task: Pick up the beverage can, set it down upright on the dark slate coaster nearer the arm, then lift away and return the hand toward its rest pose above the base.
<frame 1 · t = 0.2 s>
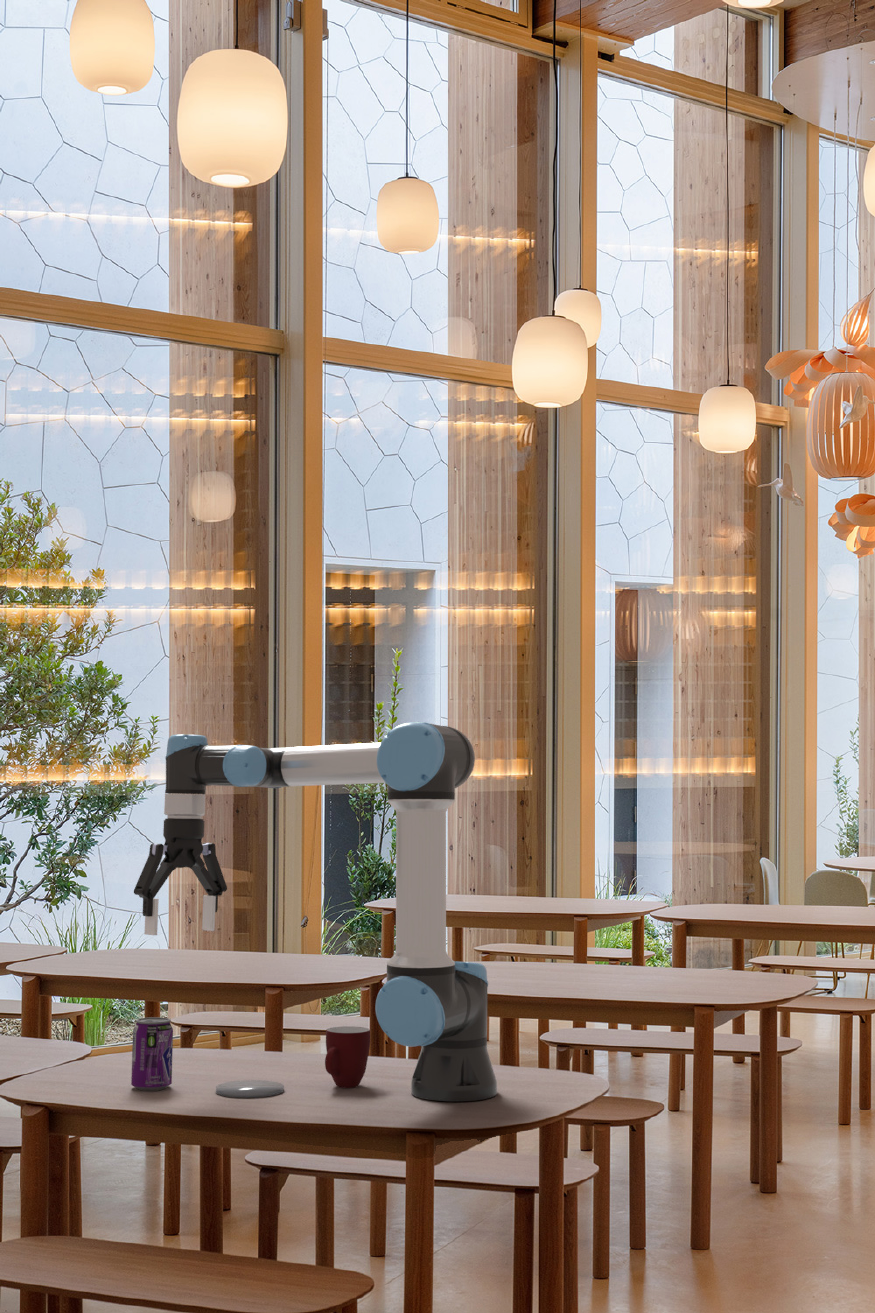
hand: (180, 932, 259), 27 cm above the table, fingers open, 13 cm apart
coaster: (249, 1091, 248), on the table
mug: (344, 1088, 252), on the table
beverage can: (151, 1089, 250), on the table
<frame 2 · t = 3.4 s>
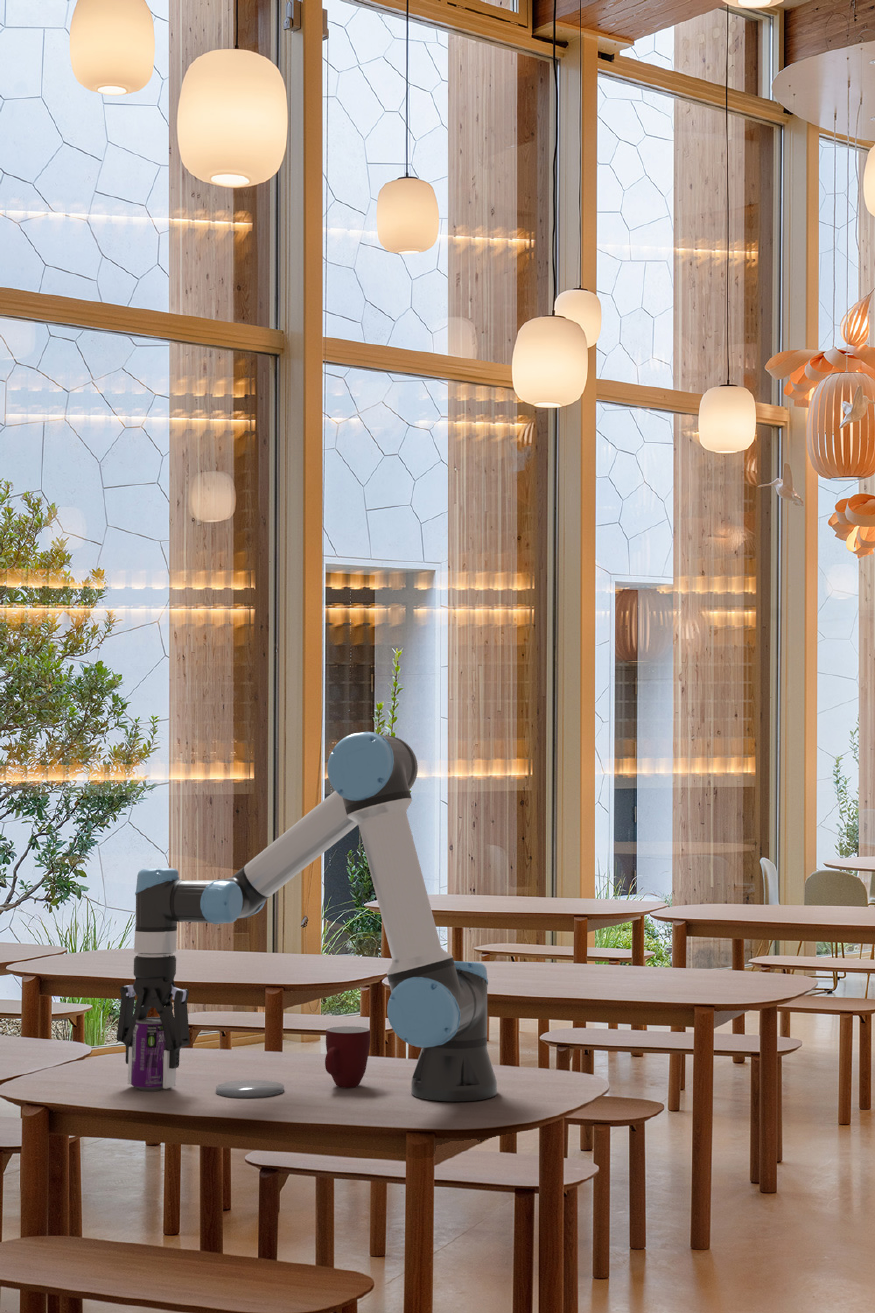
hand: (151, 1084, 250), 1 cm above the table, fingers closed on beverage can, 7 cm apart
beverage can: (151, 1089, 250), on the table, touching gripper
everything else where it was.
when the fingers open (3 cm above the table, at t = 8.7 s): beverage can drops 1 cm, resting on coaster.
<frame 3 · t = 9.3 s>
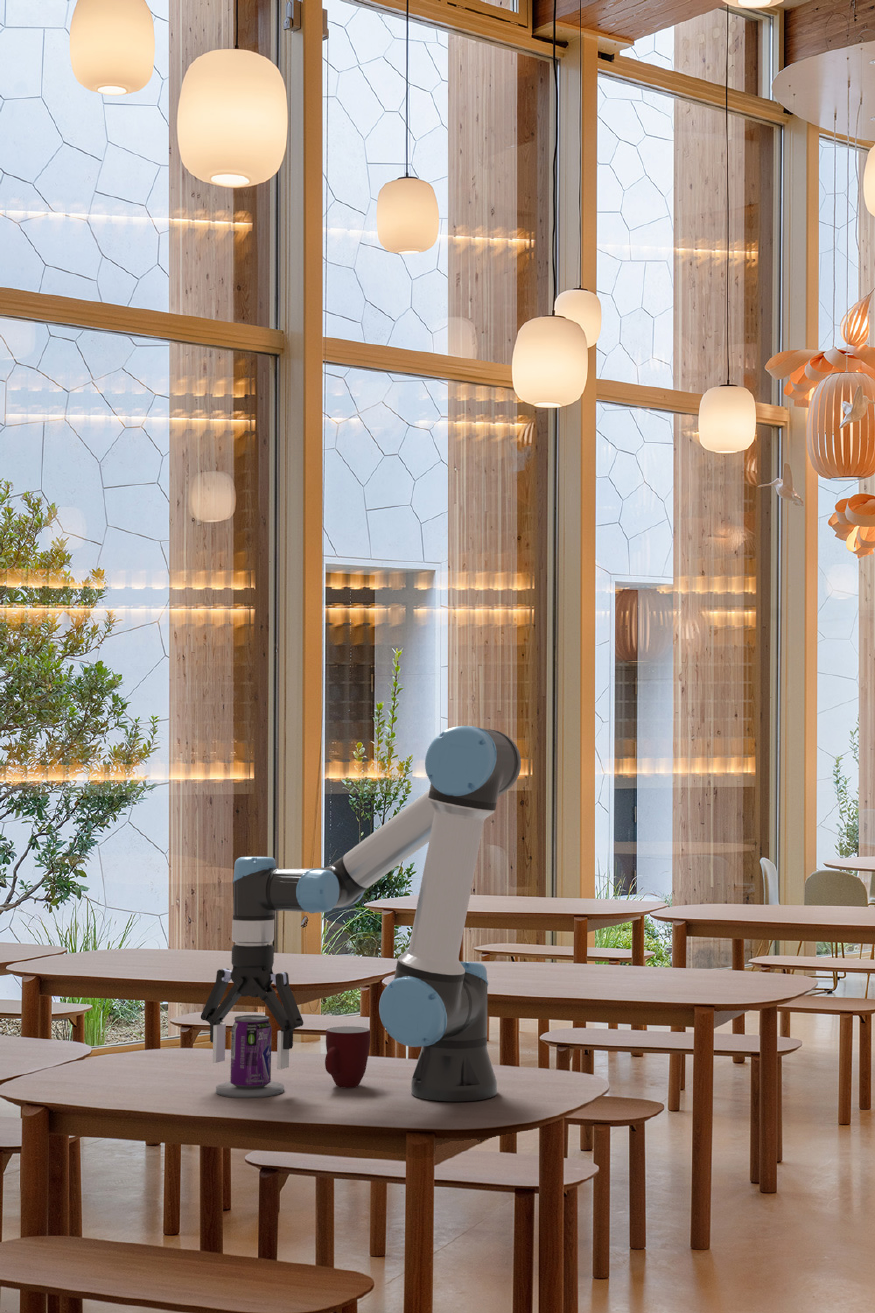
hand: (250, 1065, 248), 4 cm above the table, fingers open, 13 cm apart
beverage can: (250, 1087, 248), point 1 cm above the table, touching coaster
everything else where it was.
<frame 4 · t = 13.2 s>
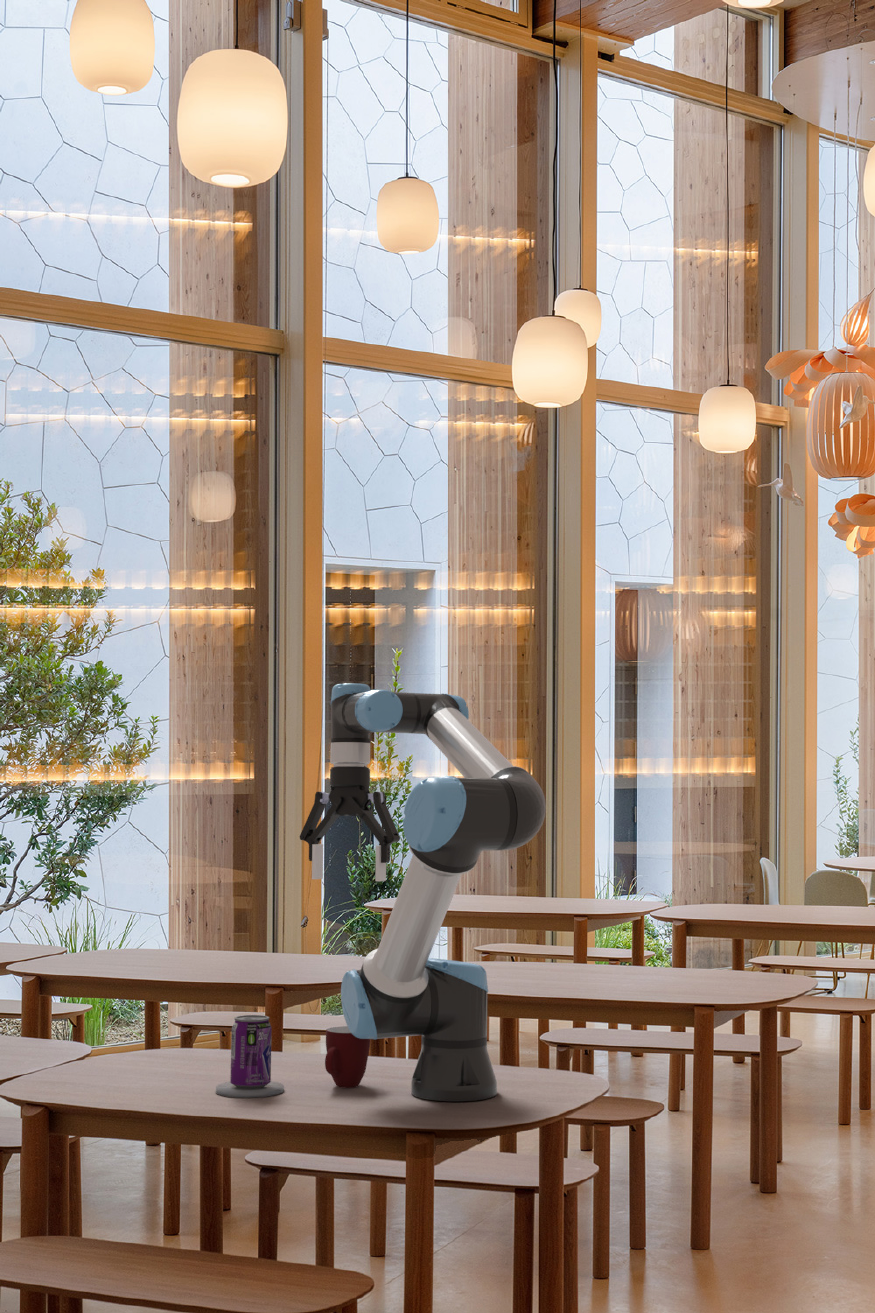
hand: (348, 880, 260), 37 cm above the table, fingers open, 13 cm apart
nothing on the table moved.
at the end: beverage can 0.1 cm from the coaster (horizontally); beverage can tilted 0°; the gripper is holding nothing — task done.
